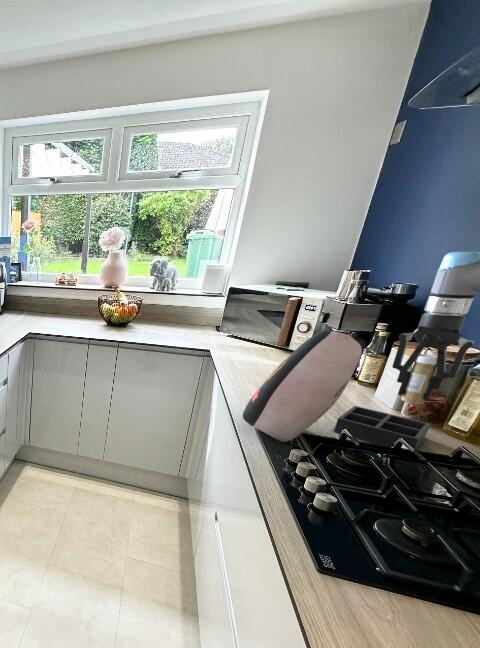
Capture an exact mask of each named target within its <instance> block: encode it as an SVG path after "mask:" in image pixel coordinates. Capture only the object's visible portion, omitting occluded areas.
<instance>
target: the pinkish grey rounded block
mask: <svg viewBox="0 0 480 648" xmlns="http://www.w3.org/2000/svg"><path fill="white" fill-rule="evenodd" d="M362 353H363V348H362V345H361V344H360V343H359V342H358V341H357V340H356V339H354V337H352V336H350V335H349V334H346V333H342V332H339V331H335V330H320V331H318V332H316V333H315V334H313V335H312V336H311V337H309V338H308V339H307V340H305V341H303V343H301V344H300V345H299V346H298V347H297V348H296V349H295V350H294V351H293V352H292V353H290V354H289V355H288V356H287V357H286V358H285V359H284V360H283V361H282V362H281V363H280V364H279V365H278V366H277V367H276V368H275V369H274V371H272V373H271V374H269V376H268V377H266V380H264V382H263V383H262V384H261V385H260V387H259V388H258V389H257V390H256V392H255V393H254V394H253V396H252V397H251V398H250V399H249V401H248V403H247V404H246V406H245V408H244V409H243V411H242V420H243V421H244V422H245V423H246V424H248V425H249V426H251V427H252V428H255V429H257V430H259V431H261V432H263V433H265V434H266V435H268V436H269V437H272V438H274V439H275V440H277V441H279V442H281V443H288V442H291V441H292V440H293V439H295V438H297V437H298V436H299V435H301V434H302V433H304V432H305V431H306V430H308V429H309V428H310V427H311V426H312V425H314V424H315V423H316V422H317V421H318V420H319V419H321V418H322V417H323V416H324V415H325V414H326V413H327V412H328V411H329V410H330V409H331V408H333V406H334V405H335V404H336V402H337V401H338V400H339V399H340V397H341V396H342V394H343V393H344V391H345V390H346V388H347V386H348V385H349V382H350V380H351V379H352V376H353V375H354V372H355V370H356V369H357V366H358V364H359V361H360V359H361V357H362Z"/></svg>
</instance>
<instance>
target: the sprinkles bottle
mask: <svg viewBox="0 0 480 648" xmlns="http://www.w3.org/2000/svg"><path fill="white" fill-rule="evenodd" d="M437 359H438V355H433V354H424V353H420V354H419V355H418V356H417V358H416V359H415V361H414V363H413V364H412V369H411V371H410V372H411V373H410V375H409V378H408V381H407V384H406V386H405V390H404V393H403V394H402V395H401V398H400V400H401V401H403V402H404V403H408V404H413V405H423V404H425V400H424V397H425V395H426V392H427V389H428V387H429V384H430V382H431V379H432V377H433V376H435V373H436V371H437Z"/></svg>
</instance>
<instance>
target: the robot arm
mask: <svg viewBox="0 0 480 648" xmlns="http://www.w3.org/2000/svg"><path fill="white" fill-rule="evenodd" d="M476 292H479V293H480V251H452V252H448V253H447V254H445V255H444V256H443V258H442V260H441V263H440V266H439V268H438V269H437V272H436V275H435V278H434V281H433V284H432V287H431V290H430V293H429V296H428V299H427V301H426V303H425V306H424V313H422V315H421V318H420V320H419V323H418V325H417V328H416V329H415V330H413V332H408V333H407V332H402V333H400V334H399V335H398V340H399V344H398V348H397V350H396V354H395V357H394V360H393V363H392V368H393V369H395V370H398V371H399V374H398V376H397V380H396V382H397V383H400V387H399V389H398V392H397V395H398V396H403V393H404V390H405V386H406V384H407V381H408V378H409V375H410V373H411V371H409V370H410V368H411V367H412V366H413V365H414V362H415V359H416V358H417V356H418V355H419V354H422V352H423V351H424V350H425V349H434V350H436V351H437V352H436V353H437V356H438V359H437V367H436V375H433V377H432V379H431V382H430V384H429V387H428V389H427V392H426V395H425V397H424V401H429V400H430V398H431V395H432V393H433V391H434V390H439V389H440V388H441V387H442V385H443V382H444V380H445V379H447V378H449V379H450V378H452V379H453V378H454V377H456V375H457V374H458V372H459V369H460V367H461V365H462V363H463V360H464V358H465V355H466V354H467V351H468V350H469V349H470V348H471V347H472V346H473V345H474V344H475V341H474V340H468V339H466V338H464V337H462V334H461V331H462V328H463V326H464V324H465V321H466V318H467V317H466V316H465V315H466V314H468V313H469V311H470V308H471V305H472V304H473V302H474V298H475V295H476ZM412 337H413V338H414V339H415V341H416V342H417V344H418V345H416V347H415V348H414V350H413V351H412V353H411V355H409V357H408V359H407V360H406V361H405V363H404V364H402V362H403V359H404V356H405V353H406V350H407V346H408V343H409V341H412ZM457 342H458V344H457V347H458V348H459V349H458V351H457V353H456V355H455V358H454V360H453V363H452V364H451V367H450V369H449V371H447V369H446V368H447V350H448V347H449V346H451V345H453V344H455V343H457Z"/></svg>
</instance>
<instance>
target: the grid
mask: <svg viewBox="0 0 480 648" xmlns="http://www.w3.org/2000/svg"><path fill="white" fill-rule="evenodd" d="M430 426H431V423H430V422H425V421H420V420H416V419H412V418H408V417H404V416H399V415H395V414H391V413H387V412H383V411H379V410H376V409H375V410H374V409H370V408H365V407H362V406H357V405H354V406H352V407H351V408H350V409H348V410H347V411H346V412H344V413H343V414H342V415H340V416H339V417H338V418H337V420H336V423H335V426H334V430H333V433H336V434H340V433H341V432H342V430H344V429H347V430H348V431H349V432H350V433H351V434H352V435H353V437H354V438H353V437H352V438H353V439H357V440H361V441H364V442H366V443H371V444H374V445H377V446H381V447H385V448H388V447H393V446H394V443H395V442H396V441H397V440H398V439H399V438H403V439H404V440H405V441H407V442H408V443H409V444H410V445H411V446H412V447H413V448H414V449H416V450H417V449H418V448H419V447H420V446H421V444H422V442H423V441H424V440H425V438H426V435H427V433H428V431H429V429H430ZM340 435H341V434H340Z"/></svg>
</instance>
